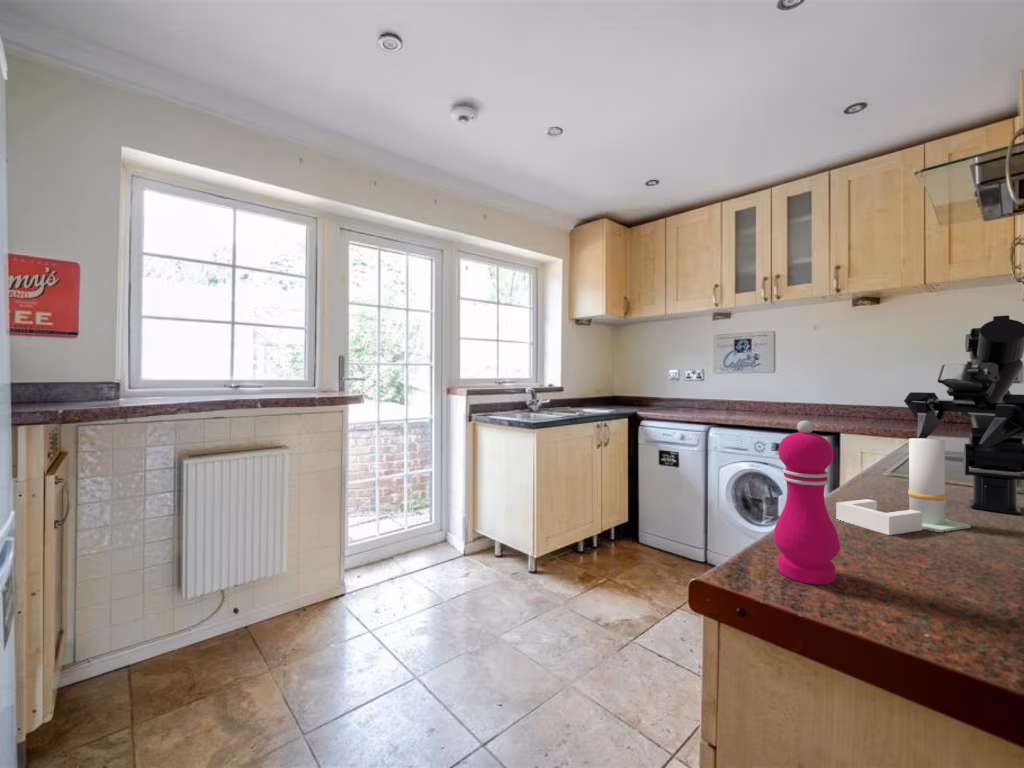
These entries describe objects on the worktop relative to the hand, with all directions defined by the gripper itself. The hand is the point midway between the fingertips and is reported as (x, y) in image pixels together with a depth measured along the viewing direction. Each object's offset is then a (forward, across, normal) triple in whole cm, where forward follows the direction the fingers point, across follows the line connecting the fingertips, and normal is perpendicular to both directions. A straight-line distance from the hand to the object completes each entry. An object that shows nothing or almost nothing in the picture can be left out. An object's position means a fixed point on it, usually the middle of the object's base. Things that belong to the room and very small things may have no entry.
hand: (948, 443), depth 81 cm
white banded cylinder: (+13, 0, +5) cm, 14 cm away
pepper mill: (+41, +10, -21) cm, 47 cm away
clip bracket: (+19, -2, 0) cm, 19 cm away
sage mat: (+14, 0, +6) cm, 15 cm away
